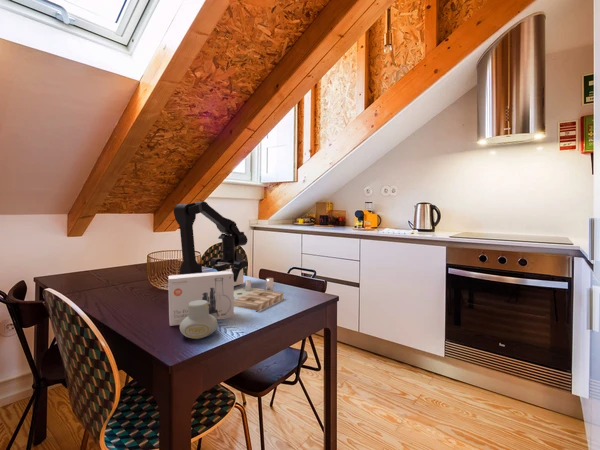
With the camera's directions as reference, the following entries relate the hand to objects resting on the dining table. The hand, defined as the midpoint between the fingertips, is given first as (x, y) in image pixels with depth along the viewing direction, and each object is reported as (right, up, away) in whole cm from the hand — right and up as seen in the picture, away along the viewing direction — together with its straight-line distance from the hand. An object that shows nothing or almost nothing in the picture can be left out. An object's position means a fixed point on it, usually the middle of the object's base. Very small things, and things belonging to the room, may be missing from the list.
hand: (229, 280), depth 151 cm
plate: (+9, -4, -9) cm, 13 cm away
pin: (+20, -4, -11) cm, 23 cm away
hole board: (+17, -5, -23) cm, 29 cm away
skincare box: (0, -6, -41) cm, 41 cm away
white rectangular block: (0, -2, 0) cm, 2 cm away
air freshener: (+3, -7, -54) cm, 55 cm away
